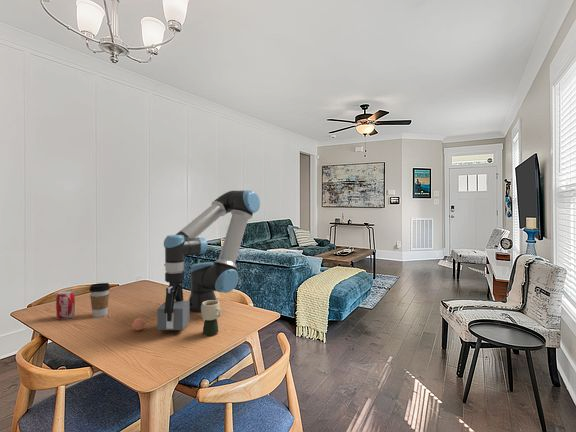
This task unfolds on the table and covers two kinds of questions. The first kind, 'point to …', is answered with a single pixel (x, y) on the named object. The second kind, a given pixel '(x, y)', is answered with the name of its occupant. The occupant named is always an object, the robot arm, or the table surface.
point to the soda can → (65, 305)
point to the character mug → (210, 316)
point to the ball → (138, 324)
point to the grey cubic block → (179, 315)
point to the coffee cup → (99, 299)
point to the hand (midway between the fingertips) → (174, 323)
